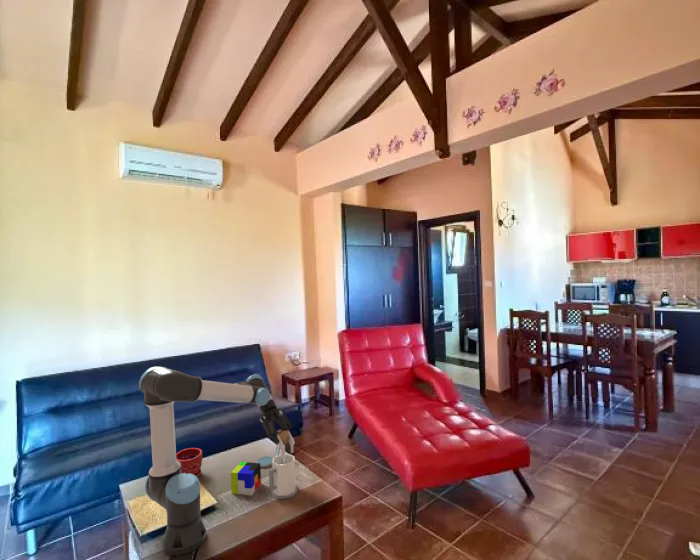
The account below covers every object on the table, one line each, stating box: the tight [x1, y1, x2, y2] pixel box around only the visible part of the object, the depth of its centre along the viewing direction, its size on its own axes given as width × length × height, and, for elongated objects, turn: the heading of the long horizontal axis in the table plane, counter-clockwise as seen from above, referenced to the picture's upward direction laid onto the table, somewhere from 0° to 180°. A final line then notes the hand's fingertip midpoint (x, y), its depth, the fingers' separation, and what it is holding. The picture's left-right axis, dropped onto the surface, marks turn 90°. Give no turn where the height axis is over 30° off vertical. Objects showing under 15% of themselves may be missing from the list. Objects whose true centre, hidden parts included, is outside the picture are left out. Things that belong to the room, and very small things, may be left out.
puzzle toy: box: [230, 461, 262, 496], centre depth 178 cm, size 10×10×10 cm
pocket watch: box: [255, 444, 281, 469], centre depth 201 cm, size 10×11×15 cm
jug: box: [268, 453, 299, 500], centre depth 174 cm, size 14×12×15 cm
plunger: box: [276, 428, 289, 464], centre depth 174 cm, size 8×8×22 cm
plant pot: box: [176, 447, 203, 478], centre depth 190 cm, size 13×13×12 cm
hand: (288, 446), depth 172 cm, fingers open, 5 cm apart
